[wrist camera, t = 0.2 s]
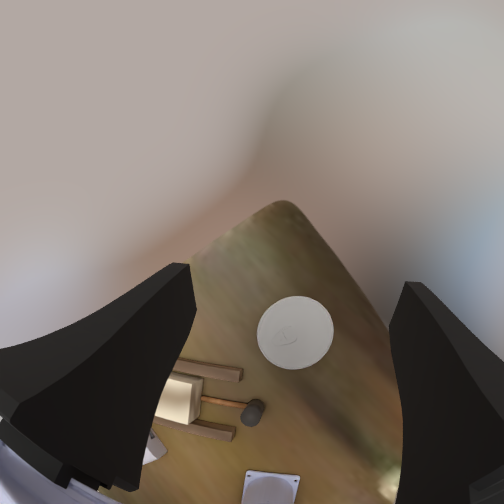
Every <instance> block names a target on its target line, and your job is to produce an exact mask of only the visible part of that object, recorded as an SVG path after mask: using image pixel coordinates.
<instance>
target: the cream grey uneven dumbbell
mask: <svg viewBox="0 0 504 504" xmlns="http://www.w3.org/2000/svg"><path fill="white" fill-rule="evenodd" d="M202 387H203V378H198V377H193V376H189V375H184V374H180V373H175V372H171V374H170V376H169V378H168V380H167V382H166V384H165V387H164V389H163V392H162V394H161V397H160V400H159V403H158V406H157V410H156V413H155V416H158V417H161V418H164V419H168V420H171V421H175V422H179V423H182V424H186V425H188V424H190V423H191V422H192V421H193V420H195V419H196V418H197V417H198V416H200V406H201V401H204V402H209V403H214V404H219V405H225V406H230V407H236V408H242V409H244V411H243V412H242V414H241V416H240V419H241V422H242V423H243V424H244V425H246V426H249V427H253V426H256V425H257V424H258V423H259V421H260V419H261V416H262V413H263V411H264V404H263V402H262V401H260V400H258V399H254V400H251V401H250V402H249V403H248V404H245V403H239V402H233V401H227V400H221V399H216V398H211V397H206V396H202Z"/></svg>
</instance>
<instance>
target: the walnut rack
mask: <svg viewBox="0 0 504 504" xmlns="http://www.w3.org/2000/svg"><path fill="white" fill-rule="evenodd" d="M173 370H176V371H180V372H185V373H189V374H194V375H199V376H204V377H209V378H214V379H220V380H226V381H232V382H238V383H239V382H240V381H241V380H242V374H243V369H240V368H233V367H227V366H221V365H215V364H209V363H204V362H199V361H193V360H188V359H183V358H179V357H178V359H177V361H176V363H175V365H174V368H173ZM153 423H156V424H159V425H163V426H166V427H169V428H173V429H176V430H180V431H184V432H187V433H191V434H195V435H200V436H204V437H208V438H213V439H218V440H223V441H228V442H231V441H232V440H233V438H234V436H235V429H236V427H232V426H227V425H221V424H216V423H212V422H207V421H202V420H198V419H195V420H193V421H192V422H191V423H190V424H188V425H186V424H182V423H179V422H175V421H171V420H168V419H164V418H161V417H158V416H154V419H153Z"/></svg>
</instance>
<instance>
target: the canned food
mask: <svg viewBox="0 0 504 504" xmlns="http://www.w3.org/2000/svg"><path fill="white" fill-rule="evenodd" d="M333 332H334V328H333V322H332V319H331V316H330V314H329V313H328V311H327V310H326V309H325V308H324V307H323V306H322V305H321V304H320V303H319V302H317V301H316V300H313V299H311V298H308V297H303V296H293V297H287V298H284V299H282V300H279V301H278V302H276V303H274V304H273V305H272V306H270V307H269V308H268V309H267V310H266V312H265V313H264V314H263V316H262V318H261V320H260V322H259V325H258V329H257V340H258V345H259V348H260V350H261V352H262V353H263V355H264V356H265V357H266V358H267V359H268V360H269V361H270V362H271V363H273V364H274V365H276V366H278V367H281V368H285V369H302V368H306V367H308V366H311V365H313V364H314V363H316V362H318V361H319V360H320V359H321V358H322V357H323V356H324V355H325V354H326V352H327V351H328V349H329V347H330V345H331V343H332V339H333Z"/></svg>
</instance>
